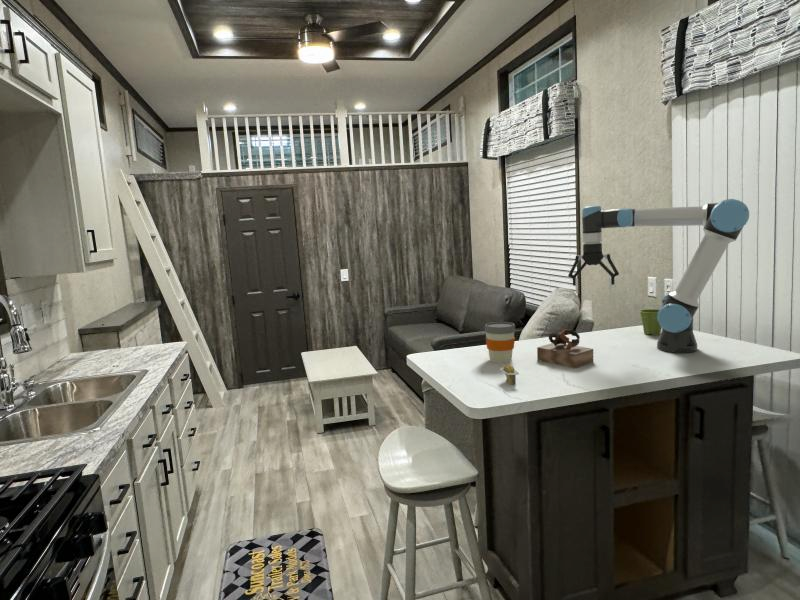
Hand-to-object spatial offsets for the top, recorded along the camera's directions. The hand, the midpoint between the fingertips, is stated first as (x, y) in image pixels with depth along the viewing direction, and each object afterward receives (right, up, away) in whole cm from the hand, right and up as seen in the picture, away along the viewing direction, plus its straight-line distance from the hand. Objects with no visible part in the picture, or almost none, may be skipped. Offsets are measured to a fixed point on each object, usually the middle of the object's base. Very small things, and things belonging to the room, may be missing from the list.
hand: (593, 292), depth 223 cm
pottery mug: (-17, -23, -12) cm, 30 cm away
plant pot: (+39, -20, +29) cm, 53 cm away
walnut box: (-16, -28, -12) cm, 35 cm away
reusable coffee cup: (-41, -28, -5) cm, 50 cm away
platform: (-44, -33, -36) cm, 66 cm away
